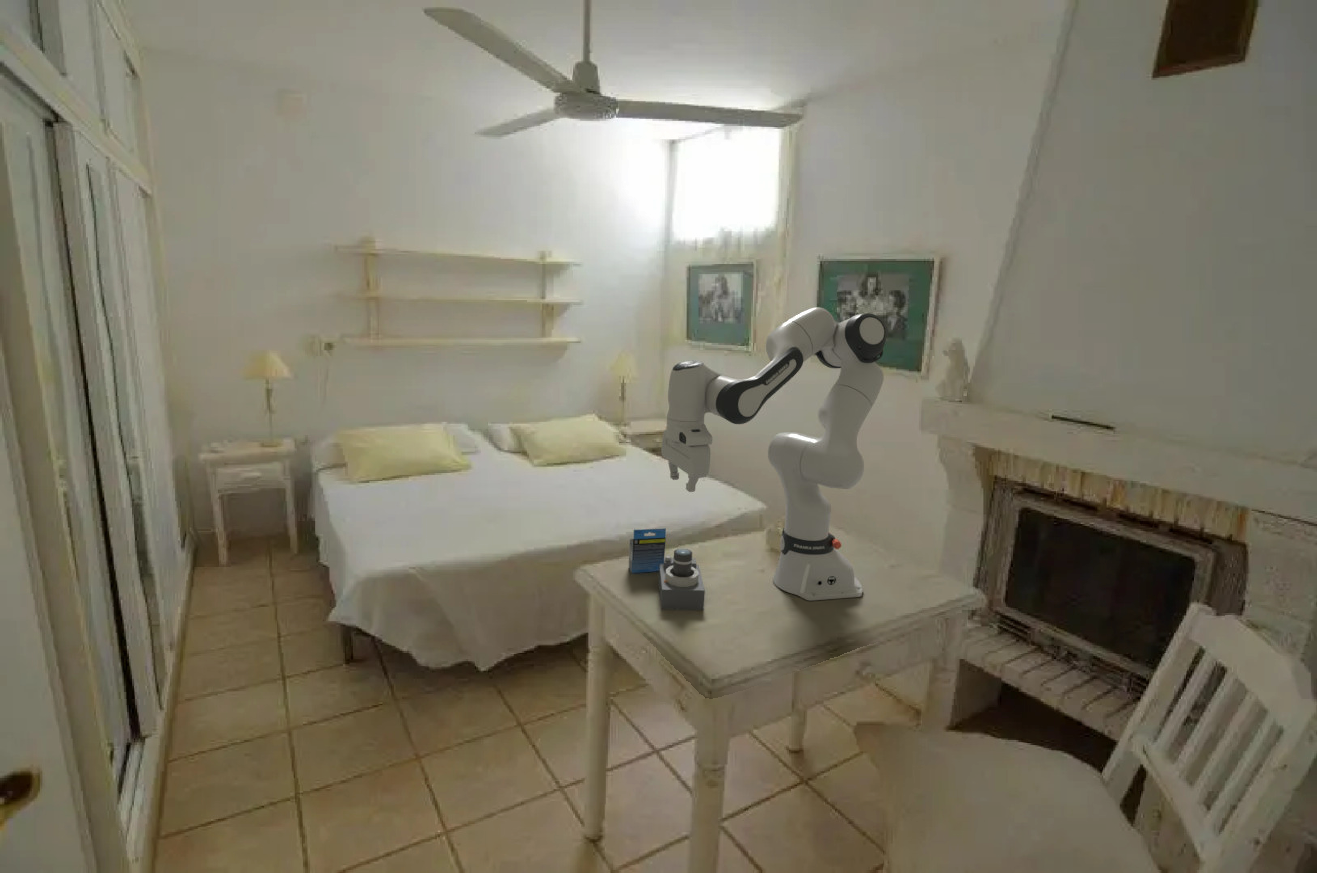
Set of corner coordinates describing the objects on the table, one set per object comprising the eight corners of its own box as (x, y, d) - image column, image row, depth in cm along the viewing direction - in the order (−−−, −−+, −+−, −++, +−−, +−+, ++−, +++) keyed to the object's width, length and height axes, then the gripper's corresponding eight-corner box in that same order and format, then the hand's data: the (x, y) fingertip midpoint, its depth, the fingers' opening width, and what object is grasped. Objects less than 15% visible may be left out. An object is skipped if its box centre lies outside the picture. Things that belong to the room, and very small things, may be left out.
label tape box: (660, 565, 179) (662, 522, 176) (664, 572, 175) (666, 528, 172) (628, 567, 176) (630, 524, 173) (631, 574, 172) (633, 530, 170)
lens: (677, 573, 163) (678, 546, 161) (693, 578, 161) (695, 551, 159) (668, 580, 159) (670, 553, 157) (685, 585, 157) (687, 557, 155)
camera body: (697, 582, 169) (699, 555, 168) (703, 610, 156) (705, 580, 154) (658, 582, 169) (660, 554, 167) (661, 609, 155) (662, 579, 153)
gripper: (656, 420, 166) (654, 473, 169) (691, 440, 147) (687, 499, 151) (679, 419, 168) (676, 471, 171) (716, 439, 150) (712, 497, 153)
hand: (682, 484), depth 161 cm, fingers open, 8 cm apart
